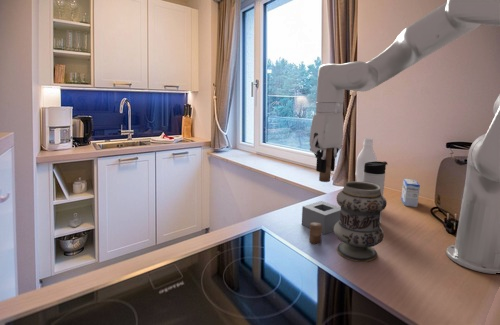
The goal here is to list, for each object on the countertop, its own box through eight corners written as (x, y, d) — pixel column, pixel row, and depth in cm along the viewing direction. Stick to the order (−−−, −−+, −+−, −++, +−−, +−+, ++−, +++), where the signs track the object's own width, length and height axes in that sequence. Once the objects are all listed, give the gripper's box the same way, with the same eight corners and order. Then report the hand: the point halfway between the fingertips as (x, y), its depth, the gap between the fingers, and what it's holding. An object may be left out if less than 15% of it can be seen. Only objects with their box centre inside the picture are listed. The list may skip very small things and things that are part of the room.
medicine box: (400, 199, 120) (403, 178, 118) (413, 200, 118) (415, 179, 116) (404, 205, 112) (406, 183, 110) (417, 207, 111) (420, 184, 109)
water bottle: (352, 205, 113) (357, 138, 107) (353, 199, 119) (358, 136, 114) (372, 207, 110) (379, 140, 105) (373, 201, 116) (379, 137, 111)
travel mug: (383, 226, 93) (389, 164, 89) (360, 225, 94) (366, 163, 90) (378, 219, 99) (384, 160, 95) (358, 217, 100) (363, 159, 96)
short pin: (323, 242, 83) (324, 225, 82) (315, 245, 81) (316, 228, 80) (314, 238, 85) (315, 221, 84) (306, 241, 84) (307, 224, 83)
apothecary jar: (369, 241, 84) (375, 178, 80) (390, 264, 72) (399, 192, 68) (326, 241, 83) (330, 179, 80) (341, 265, 72) (347, 192, 68)
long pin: (323, 178, 93) (326, 146, 91) (332, 181, 90) (334, 148, 88) (316, 180, 91) (318, 147, 89) (325, 182, 89) (327, 149, 87)
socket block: (343, 227, 93) (344, 208, 92) (324, 234, 88) (325, 215, 86) (320, 218, 100) (321, 200, 99) (301, 224, 95) (302, 206, 93)
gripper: (336, 108, 94) (332, 165, 98) (299, 109, 85) (296, 172, 88) (357, 109, 88) (352, 170, 92) (320, 110, 79) (316, 177, 82)
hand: (325, 170), depth 90 cm, fingers closed on long pin, 3 cm apart
